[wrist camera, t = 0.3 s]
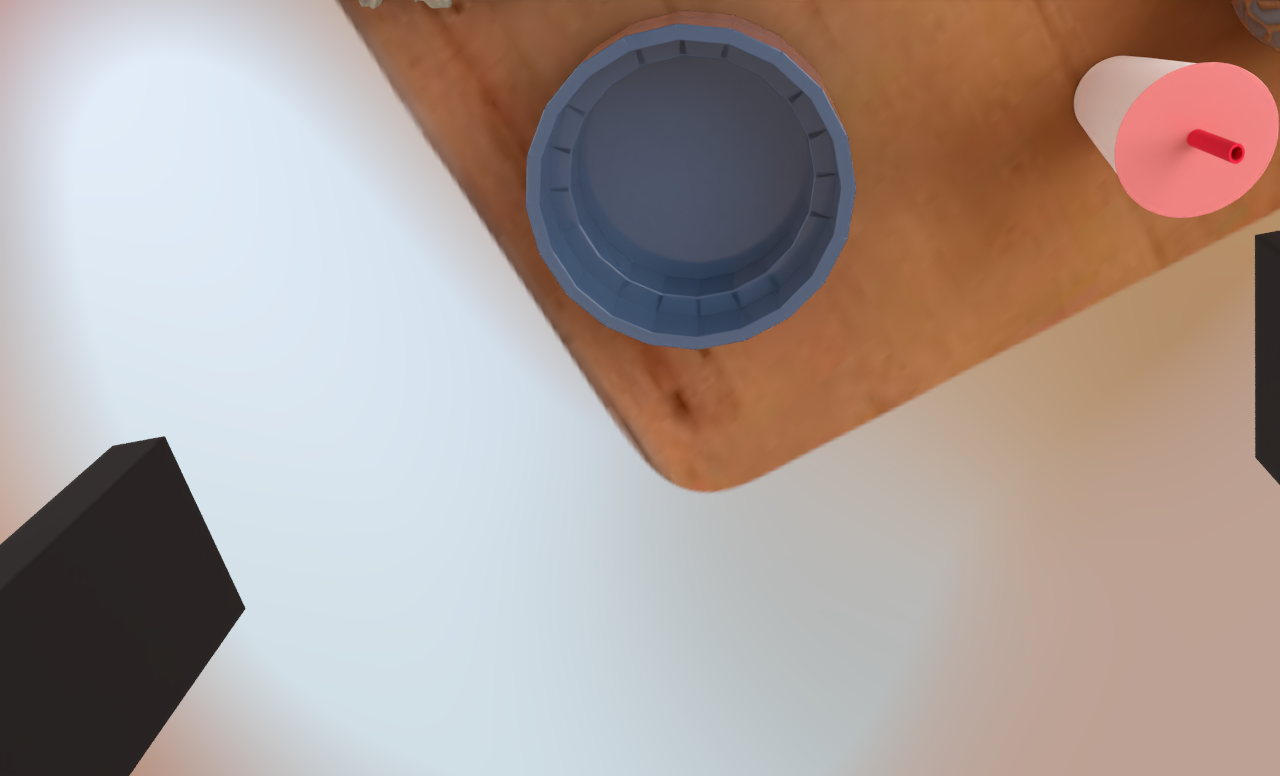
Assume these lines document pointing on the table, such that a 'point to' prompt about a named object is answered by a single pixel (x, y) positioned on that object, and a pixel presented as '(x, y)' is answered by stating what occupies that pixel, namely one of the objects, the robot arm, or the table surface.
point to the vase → (1260, 20)
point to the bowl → (691, 181)
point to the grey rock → (432, 0)
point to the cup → (1179, 130)
